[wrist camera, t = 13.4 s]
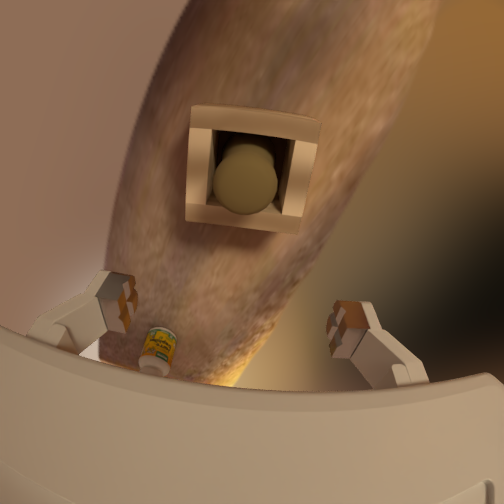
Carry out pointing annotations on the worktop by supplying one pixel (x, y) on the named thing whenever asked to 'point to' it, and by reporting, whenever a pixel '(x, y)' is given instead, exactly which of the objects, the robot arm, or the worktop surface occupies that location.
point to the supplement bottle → (158, 352)
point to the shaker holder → (255, 122)
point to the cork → (246, 174)
